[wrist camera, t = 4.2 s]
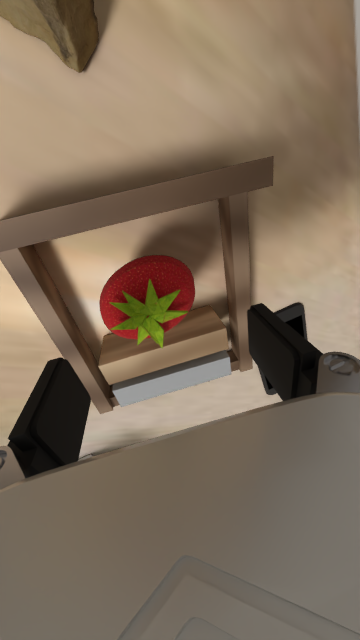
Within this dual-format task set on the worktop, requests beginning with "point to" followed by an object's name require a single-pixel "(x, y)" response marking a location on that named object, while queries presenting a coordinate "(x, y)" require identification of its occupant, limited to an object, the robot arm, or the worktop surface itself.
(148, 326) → the strawberry
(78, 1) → the rock
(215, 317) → the inner offcut board
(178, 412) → the worktop surface
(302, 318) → the smartphone
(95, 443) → the worktop surface
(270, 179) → the rack
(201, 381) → the outer offcut board
